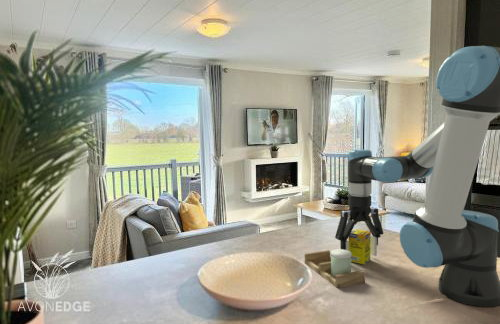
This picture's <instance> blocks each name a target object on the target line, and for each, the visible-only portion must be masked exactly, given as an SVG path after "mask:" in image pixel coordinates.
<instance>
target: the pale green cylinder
mask: <svg viewBox="0 0 500 324" xmlns="http://www.w3.org/2000/svg"><path fill="white" fill-rule="evenodd" d="M351 256H352V253H351V252H350V251H348V250H343V249H341V248H336V249H332V250H330V257H331V276H332V277H333V278H334V279H335V275H340V274H345V273H351V270H352V262H351Z"/></svg>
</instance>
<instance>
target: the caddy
mask: <svg viewBox="0 0 500 324" xmlns="http://www.w3.org/2000/svg"><path fill="white" fill-rule="evenodd" d="M304 264H305V265H306V266H307V267H308V268H310V269H311V270H313V271H315V273H317V274H318V275H319V276H321V277H322V278H323V279H325V280H326V281H327V282H328V283H330V284H331V285H332V286H334V287H335V288H337V289H341V288H344V287H345V288H346V287H350V286H355V285H360V284H365V283H366V282H365V280H366V275H365V274H366V272H365V271H364V270H358V271H355V270H353V269H351V273H345V274H340V275H335V279H334V278H333V277H332V276H331V250H329V249H327V250H320V251H314V252H306V253H304Z"/></svg>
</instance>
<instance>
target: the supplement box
mask: <svg viewBox="0 0 500 324" xmlns="http://www.w3.org/2000/svg"><path fill="white" fill-rule="evenodd" d="M371 235H372V234H371V232H370V230H365V229H364V230H363V229H358V228H353V229H352V231H351V233H350V235H349V237H348V242H349V251H350V252H351V253H352V256H351V264H352V263H353V264H355V265H356V264H357V265H361V266H366V265H367V264H368V263H369V262H370V261H371V254H370V239H371Z"/></svg>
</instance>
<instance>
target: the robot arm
mask: <svg viewBox="0 0 500 324" xmlns="http://www.w3.org/2000/svg"><path fill="white" fill-rule="evenodd" d="M438 69H439V70H438V71H437V74H436V80H435V87H436V89H438V91H437V92H438V94H439V96H440V97H441V98H442V103H441V108H442V109H443V110H444V112H445V114H446V116H445V120H444V122H442V123H441V124H440V125H439V126H438V127H437V128H435V130H433V132H432V133H430V135H428V136H427V137H426V138H425V139H424V140H423V141H422V142H420V143H419V144H418V146H416V147H415V148H414V149H412V150H411V151H410V152H409V153H408V154H406V155H399V156H398V155H397V156H383V157H381V156H373V153H372V152H373V151H372V150H370V149H351V150H350V151H349V152H348V161H347V164H348V166H347V167H348V168H347V169H348V195H347V199H348V207H349V208H348V210H341V211H340V217H339V218H340V219H339V222H338V226H337V229H336V233H335V236H334V238H335V239H336V240H339V243H340V248H339V249H343V250H348V251H349V235H350V233H351V231H353V230H354V227H355V226H356V225H357V224H358V223H360V222H364V223H365V225H366V226H367V229H368V231H370V232H371V239H370V255H371V256H374V257H376V256H377V251H378V250H377V247H378V245H379V238H381V235H382V236H383V235H384V230H383V226H382V222H381V220H380V216H379V209H378V208H376V207H372V192H373V191H372V190H373V189H372V188H373V187H372V181H375V182H381V183H384V184H385V183H390V184H393V183H396V182H397V181H398V180H399V181H401V180H410V179H411V180H413V179H422V178H426V177H429V176H430V178H429V183H428V186H427V191H426V194H425V199H424V203H423V204H422V205H421V206H417V207H416V209H415V212H414V215H413V219H412V221H408V222H407V223H405V224H404V225H402V226H401V227H400V230H399V243H400V246H401V248H402V249H403V253H404V254H405V255H406V257H407V258H408V260H410V262H412V263H413V264H415V265H416V266H418V267H420V268H426V269H428V268H438V267H441V266H444V267H443V268H442V271H441V273H440V276H439V278H438V286H437V287H438V288H437V289H438V290H439V292H440V293H441V294H442V295H443V296H446V297H447V298H449V299H450V300H452V301H453V300H454V301H455V302H458V303H462V304H464V305H468V306H474V307H483V308H490V307H491V308H493V307H499V306H500V278H499V275H498V271H497V268H498V267H497V266H498V265H497V264H498V262H497V261H498V245H499V244H498V243H499V241H498V240H499V232H500V230H499V221H498V219H497V218H496V217H495V216H494V215H491V214H488V213H484V212H480V211H473V210H467V209H465V206H466V203H467V199H468V196H469V192H470V189H471V186H472V183H473V180H474V175H475V173H476V169H477V165H478V163H479V159H480V155H481V152H482V150H483V149H482V148H483V146H484V142H485V139H486V136H487V132H488V129H489V126H490V123H491V121H493V120H494V119H495V118H496V117H498V116H500V47H496V46H487V45H475V46H474V45H471V46H465V47H462V48H459V49H457V50H455V51H453V52H452V54H451V55H449V56H447V57H446V59H445V60H444V61H443V62H442V63H441V65H440V67H439V68H438ZM370 215H371V216H370Z"/></svg>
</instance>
